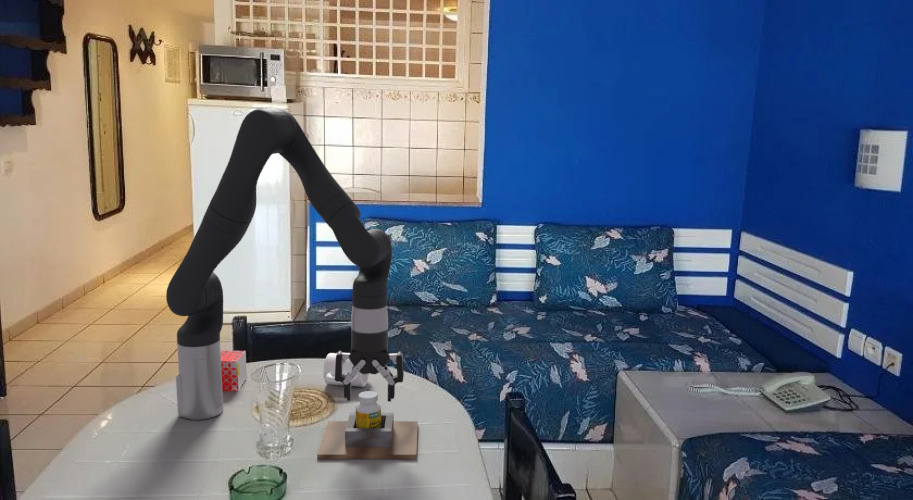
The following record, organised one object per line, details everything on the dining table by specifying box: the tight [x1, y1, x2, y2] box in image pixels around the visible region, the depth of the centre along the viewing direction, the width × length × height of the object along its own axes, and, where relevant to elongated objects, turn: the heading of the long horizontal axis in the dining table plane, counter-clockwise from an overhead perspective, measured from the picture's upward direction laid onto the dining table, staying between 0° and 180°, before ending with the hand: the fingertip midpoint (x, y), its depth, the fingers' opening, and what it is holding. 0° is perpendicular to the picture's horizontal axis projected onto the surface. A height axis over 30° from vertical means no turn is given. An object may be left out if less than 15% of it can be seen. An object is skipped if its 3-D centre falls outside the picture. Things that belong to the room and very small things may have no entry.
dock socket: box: [316, 411, 419, 460], centre depth 154 cm, size 20×16×4 cm
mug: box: [323, 352, 370, 388], centre depth 184 cm, size 12×10×8 cm
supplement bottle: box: [355, 390, 382, 428], centre depth 153 cm, size 5×5×10 cm
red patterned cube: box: [221, 350, 248, 392], centre depth 184 cm, size 8×8×8 cm
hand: (369, 399), depth 153 cm, fingers open, 8 cm apart
